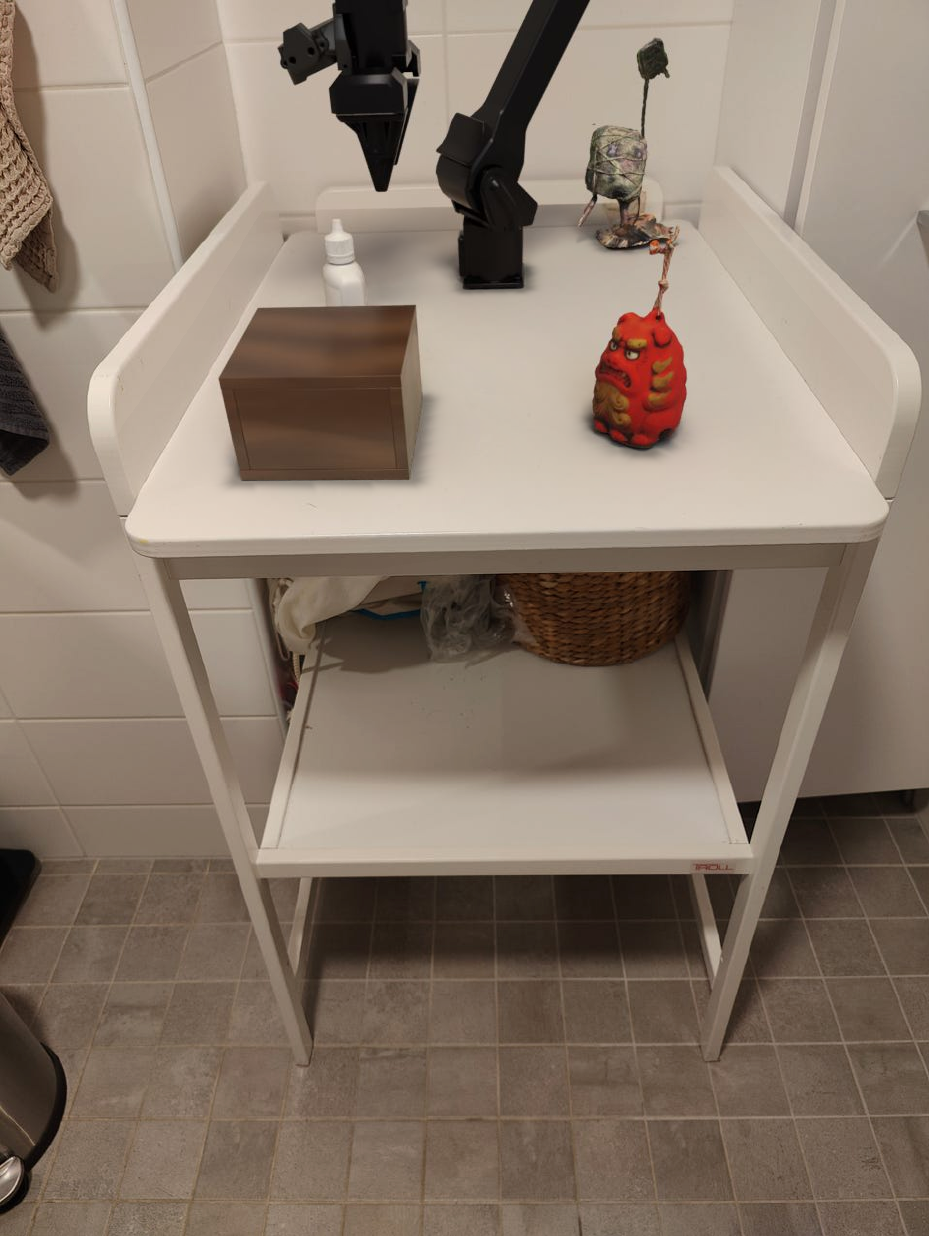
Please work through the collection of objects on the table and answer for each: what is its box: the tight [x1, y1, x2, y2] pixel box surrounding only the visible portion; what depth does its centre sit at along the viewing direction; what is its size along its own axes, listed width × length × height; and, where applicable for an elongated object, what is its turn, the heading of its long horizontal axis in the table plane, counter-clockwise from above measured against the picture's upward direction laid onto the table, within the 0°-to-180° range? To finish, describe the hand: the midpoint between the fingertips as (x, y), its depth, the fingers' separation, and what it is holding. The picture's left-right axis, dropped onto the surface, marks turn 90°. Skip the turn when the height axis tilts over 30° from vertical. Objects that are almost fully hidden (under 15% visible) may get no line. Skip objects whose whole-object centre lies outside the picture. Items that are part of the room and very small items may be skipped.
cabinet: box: [217, 304, 423, 481], centre depth 71 cm, size 13×13×8 cm
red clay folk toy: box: [591, 224, 688, 449], centre depth 68 cm, size 8×7×15 cm
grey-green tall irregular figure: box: [577, 36, 675, 249], centre depth 101 cm, size 8×11×20 cm
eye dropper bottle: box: [322, 218, 368, 307], centre depth 82 cm, size 4×6×12 cm
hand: (387, 177), depth 88 cm, fingers open, 9 cm apart
